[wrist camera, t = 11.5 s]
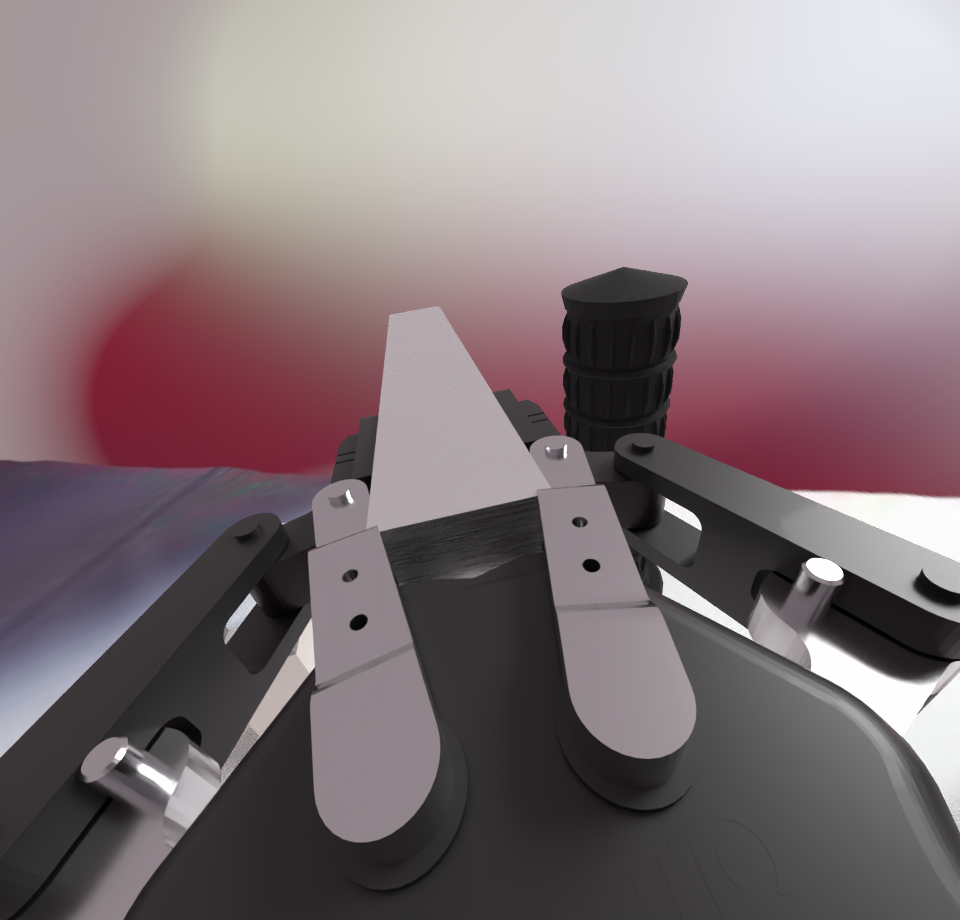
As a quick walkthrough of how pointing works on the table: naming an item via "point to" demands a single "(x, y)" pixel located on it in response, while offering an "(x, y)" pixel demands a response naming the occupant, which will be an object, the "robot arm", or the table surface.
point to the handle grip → (620, 363)
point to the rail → (447, 460)
